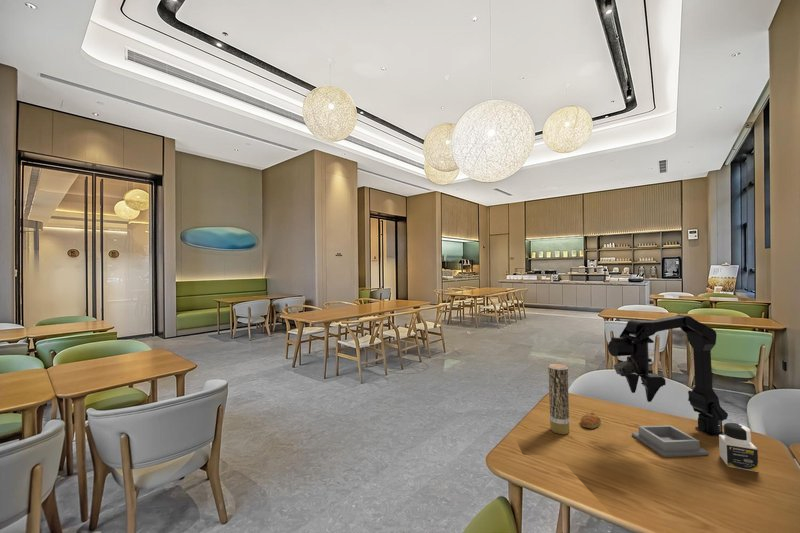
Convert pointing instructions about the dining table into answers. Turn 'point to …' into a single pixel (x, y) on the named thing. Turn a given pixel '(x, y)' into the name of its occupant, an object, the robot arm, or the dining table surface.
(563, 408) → the bark-patterned cylinder
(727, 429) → the medicine bottle
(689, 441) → the bottle caddy
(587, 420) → the pastry
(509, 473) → the dining table surface
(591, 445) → the dining table surface
